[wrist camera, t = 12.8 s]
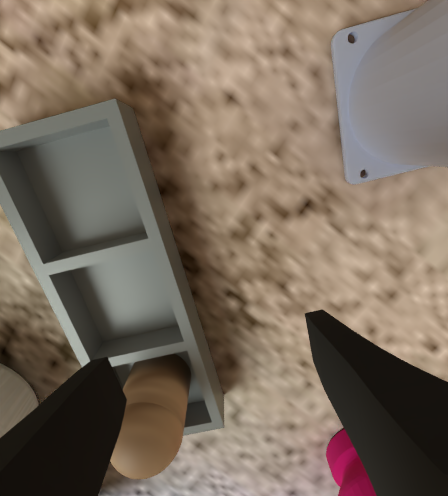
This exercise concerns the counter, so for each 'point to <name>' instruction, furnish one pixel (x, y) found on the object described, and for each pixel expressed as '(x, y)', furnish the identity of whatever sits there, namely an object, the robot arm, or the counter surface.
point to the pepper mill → (348, 467)
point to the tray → (106, 246)
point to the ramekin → (14, 399)
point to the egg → (152, 416)
